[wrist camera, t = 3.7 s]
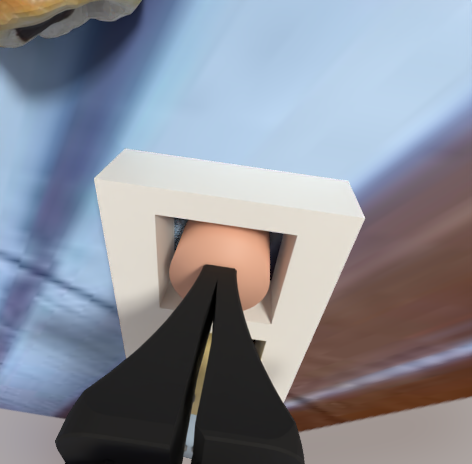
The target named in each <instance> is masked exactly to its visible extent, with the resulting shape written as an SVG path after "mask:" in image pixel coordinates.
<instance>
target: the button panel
mask: <svg viewBox="0 0 472 464" xmlns="http://www.w3.org/2000/svg"><path fill="white" fill-rule="evenodd" d="M94 181H95V187H96V193H97V198H98V204H99V209H100V215H101V221H102V226H103V232H104V237H105V243H106V249H107V254H108V260H109V265H110V271H111V277H112V282H113V288H114V293H115V299H116V305H117V310H118V316H119V321H120V327H121V333H122V338H123V344H124V349H125V355H126V359H127V358H128V357H129V356H130V355H131V354H133V353H134V352H135V351H136V350H137V349H138V348H139V347H140V346H141V345H142V344H143V343H145V342H146V341H147V340H148V339H149V338H150V337H151V336H152V335H153V334H154V333H155V332H156V331H157V330H158V329H159V327H160V326H161V325H162V324H163V323H164V322H165V321H166V320H167V319H168V317H169V316H170V315H171V314H172V313H173V311H174V310H175V309H176V308H177V306H178V305H179V304H180V303H181V301H182V300H183V298H182V297H181V296H180V295H179V294H178V293H177V292H176V290H175V289H174V287H173V286H172V283H171V281H170V276H169V268H170V264H171V261H172V259H173V256H174V254H175V218H182V219H189V220H196V221H202V222H209V223H216V224H223V225H230V226H237V227H243V228H250V229H257V230H264V231H271V232H278V233H284V234H283V237H282V241H281V245H280V249H279V253H278V257H277V261H276V264H275V268H274V272H273V276H272V280H271V281H270V285H269V289H268V292H267V294H266V295H265V297H264V298H263V299H262V300H261V301H260V302H259V303H258V304H257V305H255V306H253V307H252V308H250V309H247V310H244V311H243V313H244V317H245V320H246V323H247V326H248V329H249V332H250V335H251V338H252V339H255V340H256V342H255V348H256V350H257V353H258V355H259V357H260V360H261V362H262V364H263V366H264V368H265V370H266V372H267V374H268V376H269V378H270V380H271V382H272V384H273V386H274V387H275V389H276V391H277V393H278V395H279V396H280V398H281V400H282V401H283V403H284V401H285V398H286V396H287V394H288V392H289V389H290V387H291V385H292V383H293V380H294V378H295V376H296V373H297V371H298V369H299V367H300V364H301V362H302V360H303V358H304V355H305V353H306V351H307V349H308V346H309V344H310V342H311V339H312V337H313V335H314V333H315V330H316V328H317V326H318V324H319V321H320V319H321V317H322V315H323V312H324V310H325V308H326V305H327V303H328V301H329V299H330V296H331V294H332V292H333V290H334V287H335V285H336V283H337V281H338V278H339V276H340V274H341V271H342V269H343V267H344V265H345V262H346V260H347V258H348V256H349V253H350V251H351V249H352V247H353V244H354V242H355V240H356V237H357V235H358V233H359V231H360V228H361V226H362V224H363V222H364V219H365V217H364V215H363V213H362V210H361V208H360V206H359V204H358V201H357V199H356V197H355V195H354V193H353V190H352V188H351V186H350V184H349V181H346V180H339V179H332V178H325V177H318V176H311V175H305V174H298V173H291V172H284V171H277V170H270V169H263V168H256V167H250V166H243V165H236V164H229V163H222V162H215V161H208V160H202V159H195V158H188V157H181V156H174V155H167V154H160V153H153V152H147V151H140V150H133V149H126V148H125V149H124V150H123V151H122V152H121V153H120V154H119V155H118V156H117V157H116V158H115V159H114V160H113V161H112V162H111V163H110V164H109V165H108V166H106V167H105V168H104V169H103V170H102V171H101V172H100V173H99V174H98V175H97V176H96V177H95V178H94ZM174 217H175V218H174ZM212 327H213V323H212V326H211V330H210V333H212Z"/></svg>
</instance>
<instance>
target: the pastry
mask: <svg viewBox="0 0 472 464" xmlns="http://www.w3.org/2000/svg"><path fill="white" fill-rule="evenodd" d="M141 1H142V0H0V47H6V48H17V47H20V46H23V45H25V44H26V43H28V42H29V41H31V40H32V39H34V38H35V37H37V36H38V35H39V36H41V37H43V38H56V37H59V36H61V35H65V34H67V33H69V32H70V31H71V30H72V29H75V28H78V27H80V26H81V25H83V24H84V23H86V22H87V21H88V20H89V19H91V18H92V19H97V20H100V21H116V20H117V19H119V18H121V17H123V16H126V15H130V14H131V13H132V12H133V11H134V10H135V9H136V8H137V6H138V5H139V3H140V2H141Z"/></svg>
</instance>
